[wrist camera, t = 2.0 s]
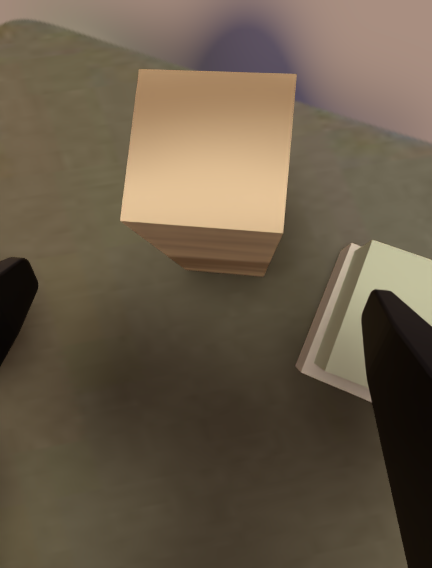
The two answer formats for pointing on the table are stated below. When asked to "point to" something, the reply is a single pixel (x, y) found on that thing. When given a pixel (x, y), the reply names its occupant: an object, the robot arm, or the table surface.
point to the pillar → (210, 167)
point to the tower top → (354, 294)
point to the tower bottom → (320, 324)
